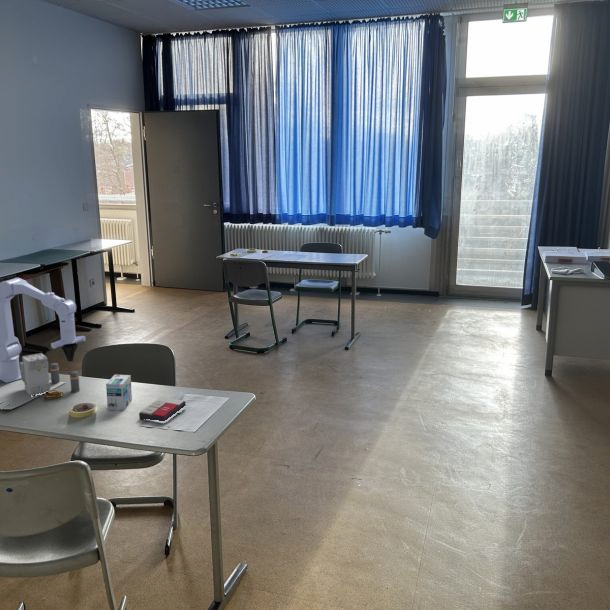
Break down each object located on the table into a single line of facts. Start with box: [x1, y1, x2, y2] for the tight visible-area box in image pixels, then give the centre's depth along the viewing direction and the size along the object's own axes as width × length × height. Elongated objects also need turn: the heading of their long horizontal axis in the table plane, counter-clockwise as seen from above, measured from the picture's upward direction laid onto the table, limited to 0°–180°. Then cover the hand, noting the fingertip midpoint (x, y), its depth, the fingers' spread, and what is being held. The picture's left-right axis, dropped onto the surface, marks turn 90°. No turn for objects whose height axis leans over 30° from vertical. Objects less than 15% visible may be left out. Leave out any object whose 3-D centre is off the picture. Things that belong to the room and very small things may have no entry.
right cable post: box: [69, 370, 80, 393], centre depth 248 cm, size 3×3×8 cm
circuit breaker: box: [19, 352, 51, 396], centre depth 247 cm, size 8×14×15 cm, turn 40°
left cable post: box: [49, 362, 61, 384], centre depth 256 cm, size 3×3×8 cm
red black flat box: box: [138, 396, 187, 421], centre depth 228 cm, size 11×4×15 cm
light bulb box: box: [105, 374, 133, 411], centre depth 234 cm, size 11×7×11 cm, turn 179°
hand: (70, 360), depth 253 cm, fingers closed
